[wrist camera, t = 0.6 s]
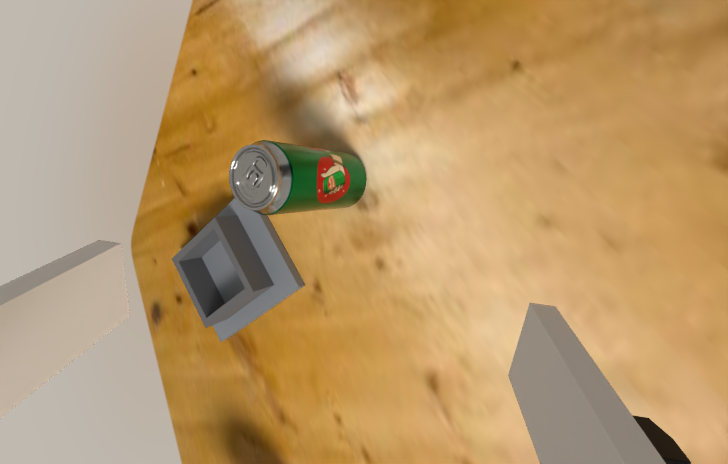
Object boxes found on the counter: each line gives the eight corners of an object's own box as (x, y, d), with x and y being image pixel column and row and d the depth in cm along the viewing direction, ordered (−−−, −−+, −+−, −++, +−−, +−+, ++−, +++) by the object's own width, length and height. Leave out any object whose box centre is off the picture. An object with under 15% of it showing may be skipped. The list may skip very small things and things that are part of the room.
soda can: (313, 184, 37) (214, 183, 27) (341, 141, 35) (246, 122, 25) (348, 218, 36) (258, 232, 25) (379, 175, 34) (295, 171, 23)
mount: (251, 187, 41) (222, 188, 38) (305, 285, 39) (279, 294, 36) (184, 252, 47) (153, 257, 44) (227, 338, 45) (198, 351, 42)
